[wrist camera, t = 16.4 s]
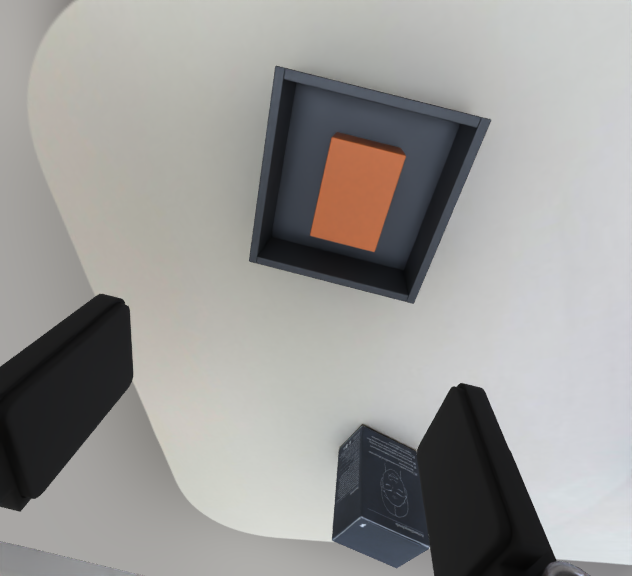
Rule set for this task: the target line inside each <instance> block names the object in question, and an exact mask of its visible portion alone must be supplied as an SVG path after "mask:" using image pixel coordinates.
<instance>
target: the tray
mask: <svg viewBox="0 0 632 576" xmlns="http://www.w3.org/2000/svg"><path fill="white" fill-rule="evenodd" d="M490 122H491V119H487V118H483V117H479V116H475V115H471V114H467V113H463V112H459V111H455V110H451V109H447V108H443V107H439V106H435V105H431V104H427V103H423V102H419V101H415V100H411V99H407V98H403V97H399V96H395V95H391V94H387V93H383V92H379V91H375V90H371V89H367V88H363V87H359V86H355V85H351V84H347V83H343V82H339V81H335V80H331V79H327V78H323V77H319V76H315V75H311V74H307V73H303V72H299V71H295V70H292V69H288V68H284V67H280V66H275V73H274V80H273V88H272V95H271V103H270V110H269V117H268V125H267V132H266V139H265V147H264V154H263V161H262V169H261V176H260V184H259V191H258V198H257V206H256V213H255V220H254V228H253V235H252V242H251V250H250V257H249V262H253V263H257V264H261V265H265V266H269V267H273V268H277V269H281V270H285V271H289V272H292V273H296V274H300V275H304V276H308V277H312V278H316V279H320V280H324V281H327V282H331V283H335V284H339V285H343V286H347V287H351V288H355V289H359V290H362V291H366V292H370V293H374V294H378V295H382V296H386V297H390V298H394V299H397V300H401V301H405V302H409V303H412V304H414V302H415V299H416V297H417V295H418V292H419V290H420V288H421V285H422V283H423V281H424V278H425V276H426V273H427V271H428V269H429V266H430V264H431V262H432V259H433V257H434V255H435V252H436V250H437V247H438V245H439V243H440V240H441V238H442V236H443V233H444V231H445V228H446V226H447V224H448V221H449V219H450V217H451V214H452V212H453V210H454V207H455V205H456V202H457V200H458V198H459V195H460V193H461V191H462V188H463V186H464V183H465V181H466V179H467V176H468V174H469V172H470V169H471V167H472V165H473V162H474V160H475V157H476V155H477V153H478V150H479V148H480V146H481V143H482V141H483V138H484V136H485V134H486V131H487V129H488V127H489V124H490ZM336 132H340V133H344V134H348V135H352V136H356V137H360V138H363V139H367V140H371V141H375V142H379V143H383V144H387V145H391V146H395V147H399V148H401V149H402V150H403V152H404V153H405V155H406V158H405V161H404V164H403V167H402V171H401V174H400V177H399V180H398V183H397V186H396V189H395V192H394V195H393V198H392V201H391V204H390V207H389V210H388V213H387V216H386V219H385V222H384V225H383V228H382V231H381V235H380V238H379V241H378V244H377V247H376V250H375V252H372V251H368V250H364V249H360V248H356V247H352V246H348V245H344V244H340V243H337V242H333V241H329V240H325V239H321V238H317V237H313V236H310V232H311V228H312V223H313V219H314V214H315V210H316V205H317V201H318V196H319V192H320V187H321V183H322V178H323V174H324V169H325V165H326V160H327V156H328V151H329V147H330V142H331V138H332V136H333V135H334V134H335V133H336Z"/></svg>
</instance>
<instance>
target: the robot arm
mask: <svg viewBox="0 0 632 576" xmlns="http://www.w3.org/2000/svg"><path fill="white" fill-rule="evenodd" d="M132 379H133V360H132V342H131V324H130V309H129V307H128V306H127V305H125V302H124V300H123V299H121V298H117V297H113V296H109V295H105V294H99V295H97V296H95V297H94V298H93V299H91V300H90V301H89V302H87V303H86V304H85V305H84V306H82V307H81V308H80V309H78V310H77V311H75V312H74V313H72V314H71V315H70V316H68V317H67V318H66V319H64V320H63V321H62V322H60V323H59V324H58V325H56V326H55V327H53V328H52V329H51V330H49V331H48V332H47V333H46V334H44V335H43V336H41V337H40V338H39V339H37V340H36V341H35V342H33V343H32V344H31V345H29V346H28V347H26V348H25V349H24V350H23V351H21V352H20V353H18V354H17V355H16V356H15V357H13V358H11V359H10V360H9V361H7V362H6V363H5V364H3V365H2V366H1V367H0V507H4V508H8V509H12V510H16V511H21V510H22V509H23V508H24V507H25V505H26V504H27V503H28V502H29V501H30V499H31V498H32V499H35V498H37V497H39V496H40V495H41V494H42V493H43V492H44V491H45V490H46V488H47V487H48V486H49V485H50V483H51V482H52V481H53V480H54V479H55V477H56V476H57V475H58V474H59V473H60V471H61V470H62V469H63V468H64V466H65V465H66V464H67V463H68V461H69V460H70V459H71V458H72V456H73V455H74V454H75V453H76V452H77V450H78V449H79V448H80V447H81V445H82V444H83V443H84V442H85V440H86V439H87V438H88V437H89V436H90V434H91V433H92V432H93V431H94V429H95V428H96V427H97V425H99V423H100V422H101V421H102V420H103V418H104V417H105V416H106V415H107V413H108V412H109V411H110V410H111V408H112V407H113V406H114V405H115V403H116V402H117V401H118V400H119V399H120V397H121V396H122V395H123V394H124V393H125V391H126V390H127V389H128V387H129V386H130V384H131V382H132ZM417 463H418V469H419V476H420V483H421V489H422V496H423V503H424V510H425V516H426V523H427V530H428V536H429V543H430V550H431V556H432V563H433V570H434V576H590V575H589V574H587V573H586V572H584V571H583V570H582V569H580V568H579V567H577V566H574V565H572V564H570V563H568V562H562V561H556V558H555V556H554V554H553V551H552V549H551V547H550V544H549V542H548V539H547V537H546V535H545V532H544V530H543V527H542V525H541V523H540V520H539V518H538V515H537V513H536V511H535V508H534V506H533V504H532V501H531V499H530V496H529V494H528V492H527V489H526V487H525V484H524V482H523V480H522V477H521V475H520V472H519V470H518V468H517V465H516V463H515V461H514V458H513V456H512V453H511V451H510V450H509V448H508V446H507V443H506V441H505V439H504V436H503V434H502V431H501V429H500V427H499V424H498V422H497V419H496V417H495V415H494V412H493V410H492V407H491V405H490V403H489V400H488V398H487V395H486V393H485V391H484V389H482V388H480V387H476V386H472V385H468V384H464V383H460V384H459V385H458V386H457V387H452V388H451V389H450V390H449V392H448V394H447V396H446V398H445V399H444V401H443V403H442V405H441V407H440V409H439V410H438V412H437V414H436V416H435V418H434V419H433V421H432V423H431V425H430V427H429V428H428V430H427V432H426V434H425V436H424V437H423V439H422V441H421V443H420V445H419V447H418V450H417ZM0 576H143V575H139V574H135V573H131V572H127V571H123V570H119V569H114V568H110V567H106V566H102V565H98V564H94V563H90V562H86V561H81V560H77V559H73V558H69V557H65V556H61V555H57V554H52V553H49V552H44V551H40V550H36V549H32V548H27V547H24V546H19V545H14V544H10V543H5V542H1V541H0Z"/></svg>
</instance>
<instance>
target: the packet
mask: <svg viewBox="0 0 632 576" xmlns="http://www.w3.org/2000/svg"><path fill="white" fill-rule="evenodd" d="M405 158H406V155H405V153H404V152H403V150H402V149H401V148H399V147H395V146H391V145H387V144H383V143H379V142H375V141H371V140H367V139H363V138H360V137H356V136H352V135H348V134H344V133H340V132H336V133H335V134H334V135H333V136H332V138H331V142H330V147H329V151H328V156H327V160H326V165H325V169H324V174H323V178H322V183H321V187H320V192H319V196H318V201H317V205H316V210H315V214H314V219H313V223H312V228H311V232H310V236H313V237H317V238H321V239H325V240H329V241H333V242H337V243H340V244H344V245H348V246H352V247H356V248H360V249H364V250H368V251H372V252H375V250H376V247H377V244H378V241H379V238H380V235H381V231H382V228H383V225H384V222H385V219H386V216H387V213H388V210H389V207H390V204H391V201H392V198H393V195H394V192H395V189H396V186H397V183H398V180H399V177H400V174H401V171H402V167H403V164H404V161H405Z"/></svg>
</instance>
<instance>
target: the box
mask: <svg viewBox="0 0 632 576" xmlns="http://www.w3.org/2000/svg"><path fill="white" fill-rule="evenodd" d="M332 541H334V542H337V543H339V544H341V545H344V546H346V547H348V548H351V549H353V550H355V551H358V552H360V553H362V554H365V555H367V556H369V557H372V558H374V559H377V560H379V561H381V562H383V563H386V564H388V565H390V566H393V567H395V568H398V567H399V566H401V565H403V564H405V563H406V562H408V561H410V560H411V559H413V558H414V557H416V556H418V555H419V554H421V553H423V552H425V551H426V550H428V549H429V547H430V543H429V536H428V530H427V523H426V516H425V510H424V503H423V496H422V489H421V483H420V476H419V469H418V463H417V452H416V451H414V450H412V449H410V448H408V447H406V446H404V445H402V444H400V443H398V442H396V441H394V440H391V439H389V438H387V437H385V436H383V435H381V434H379V433H377V432H375V431H373V430H371V429H369V428H367V427H365V426H363V425H362V426H361V427H360V428H359V429H358V430H357V431H356V432H355V433H354V434H353V435H352V436H351V437H350V438H349V439H348V440H347V441H346V442H345V443H344V444H343V445H342V446H341V447H340V449H339V455H338V468H337V482H336V494H335V507H334V520H333V534H332Z"/></svg>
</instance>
